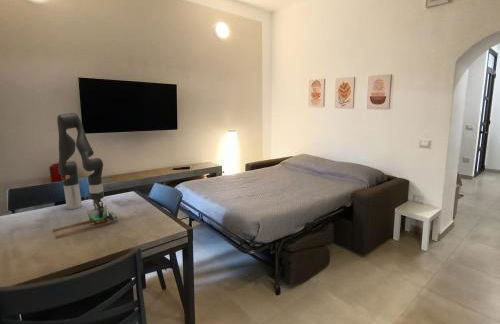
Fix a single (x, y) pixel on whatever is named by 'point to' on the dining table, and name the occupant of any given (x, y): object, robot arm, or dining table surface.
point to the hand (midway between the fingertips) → (99, 215)
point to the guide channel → (111, 216)
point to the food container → (97, 216)
